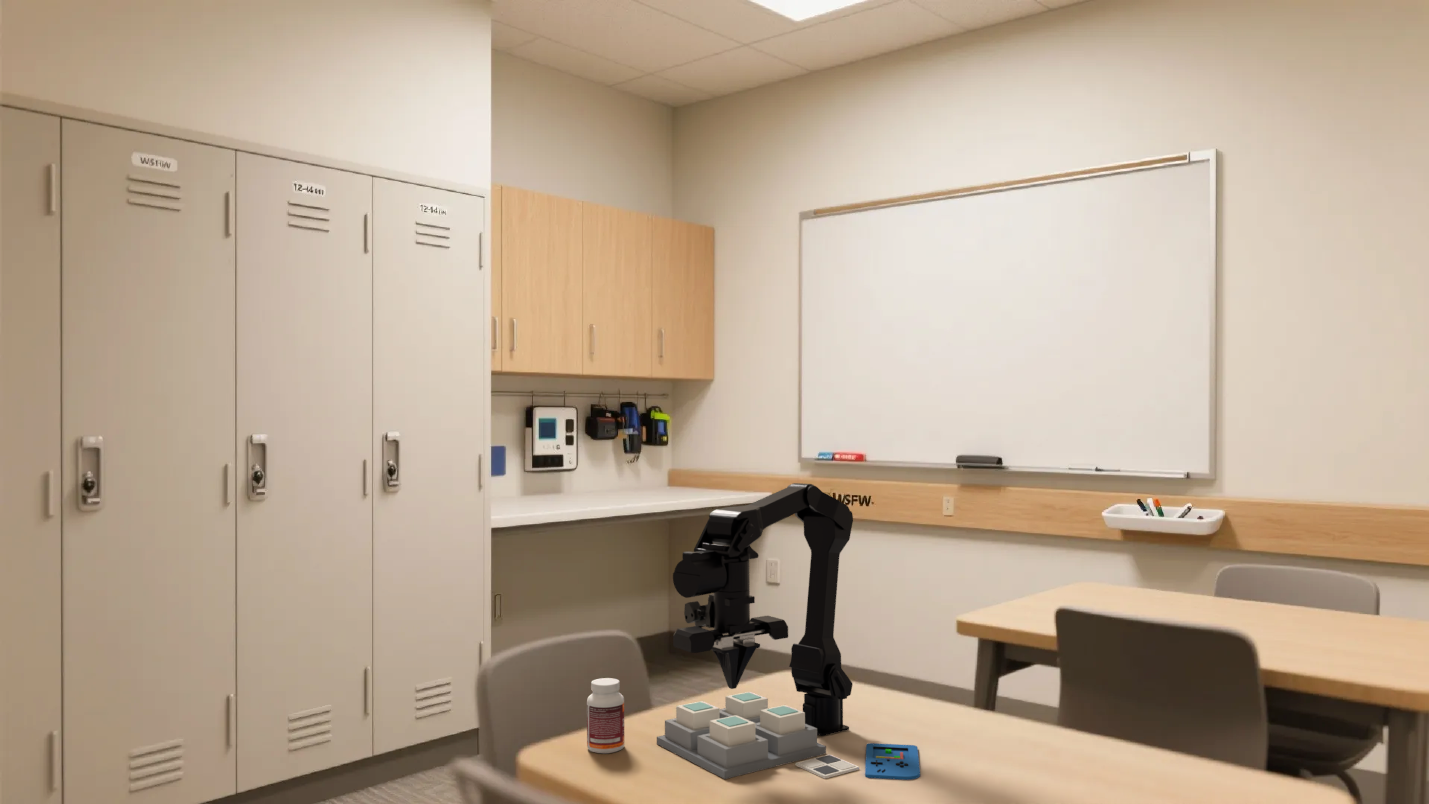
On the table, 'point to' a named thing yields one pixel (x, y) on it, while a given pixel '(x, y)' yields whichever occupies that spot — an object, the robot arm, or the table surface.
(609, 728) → the pill bottle
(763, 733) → the console
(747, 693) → the button
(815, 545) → the robot arm
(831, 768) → the card
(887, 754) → the handheld gaming device
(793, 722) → the button
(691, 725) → the button
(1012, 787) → the table surface
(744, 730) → the button
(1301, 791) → the table surface
